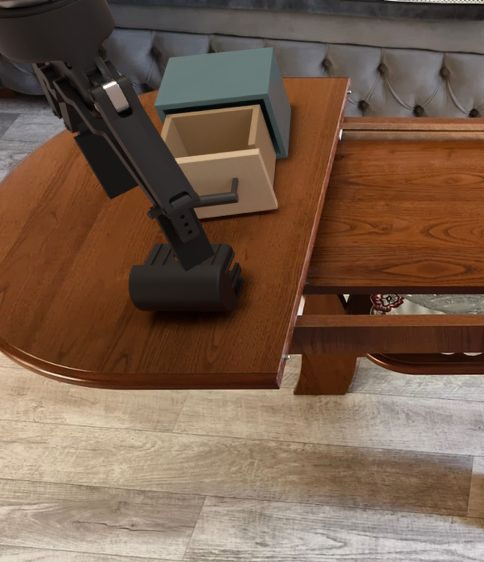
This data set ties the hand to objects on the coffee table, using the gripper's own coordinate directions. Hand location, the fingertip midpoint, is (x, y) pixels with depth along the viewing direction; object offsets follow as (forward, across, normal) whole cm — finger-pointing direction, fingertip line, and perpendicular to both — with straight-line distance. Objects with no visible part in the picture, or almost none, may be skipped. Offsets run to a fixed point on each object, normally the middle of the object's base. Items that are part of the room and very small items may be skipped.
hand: (159, 224), depth 60 cm
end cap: (+19, +9, -2) cm, 22 cm away
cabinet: (+19, +34, -23) cm, 45 cm away
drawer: (+18, +22, -14) cm, 32 cm away
